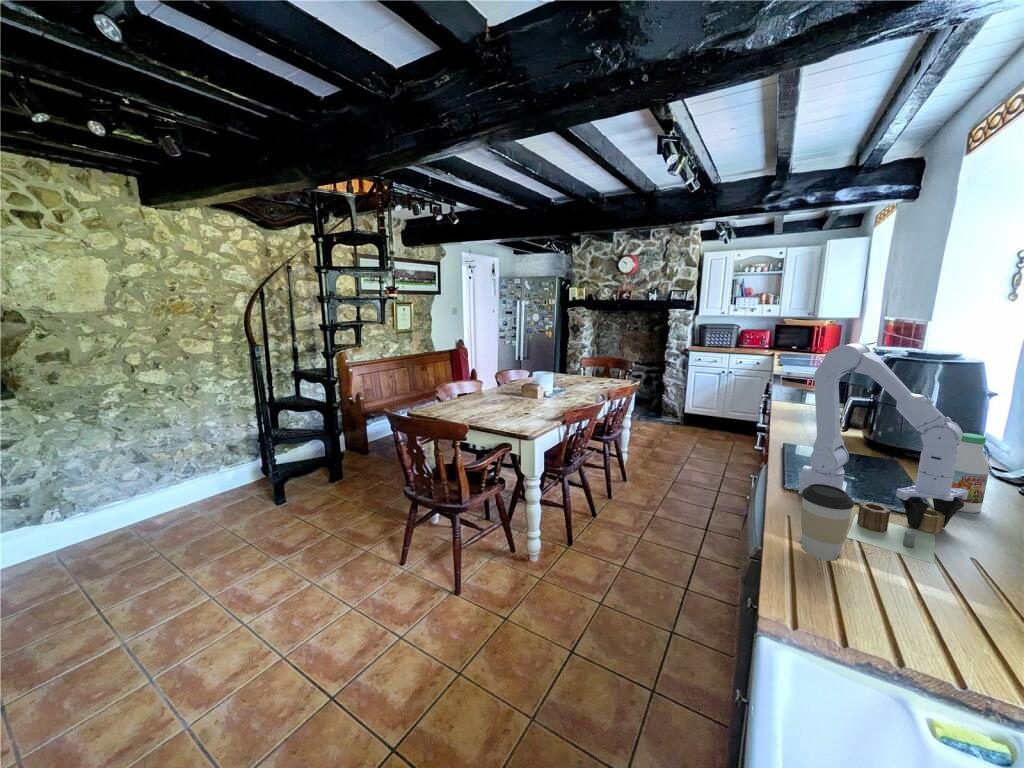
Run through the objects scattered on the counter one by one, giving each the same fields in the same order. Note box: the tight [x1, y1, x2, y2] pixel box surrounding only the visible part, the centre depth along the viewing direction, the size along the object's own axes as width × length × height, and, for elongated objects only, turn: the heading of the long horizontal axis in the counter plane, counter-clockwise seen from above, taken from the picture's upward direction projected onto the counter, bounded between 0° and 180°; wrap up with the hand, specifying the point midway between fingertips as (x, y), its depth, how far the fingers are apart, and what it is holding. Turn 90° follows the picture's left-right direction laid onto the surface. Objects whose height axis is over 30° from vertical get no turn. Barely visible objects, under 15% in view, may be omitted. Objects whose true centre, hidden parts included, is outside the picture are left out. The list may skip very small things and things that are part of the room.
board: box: [846, 513, 936, 565], centre depth 92 cm, size 14×15×4 cm
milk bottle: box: [951, 432, 990, 514], centre depth 106 cm, size 8×8×20 cm
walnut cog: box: [857, 501, 891, 533], centre depth 96 cm, size 5×5×5 cm
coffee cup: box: [800, 484, 855, 562], centre depth 88 cm, size 9×9×15 cm
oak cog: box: [918, 507, 945, 534], centre depth 96 cm, size 5×5×5 cm
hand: (925, 526), depth 96 cm, fingers closed on oak cog, 5 cm apart
